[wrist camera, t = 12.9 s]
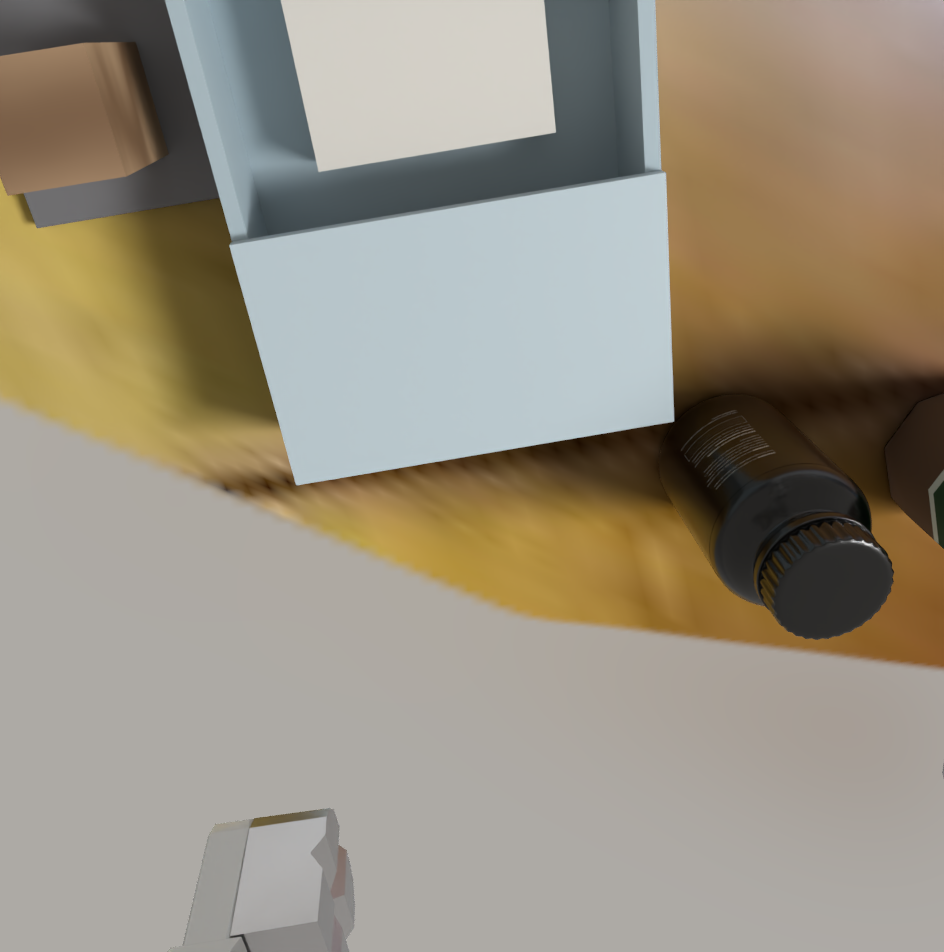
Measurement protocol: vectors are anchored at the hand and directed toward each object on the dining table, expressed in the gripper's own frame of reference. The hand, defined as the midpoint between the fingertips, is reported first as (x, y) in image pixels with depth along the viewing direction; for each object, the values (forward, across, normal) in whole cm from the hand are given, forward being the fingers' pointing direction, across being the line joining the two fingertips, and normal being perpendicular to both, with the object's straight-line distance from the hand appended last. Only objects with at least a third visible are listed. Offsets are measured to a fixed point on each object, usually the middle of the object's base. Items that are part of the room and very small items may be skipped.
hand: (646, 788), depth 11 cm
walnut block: (+29, +13, -8) cm, 33 cm away
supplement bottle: (+30, -12, +11) cm, 34 cm away
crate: (+29, +1, -4) cm, 29 cm away
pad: (+29, +13, -8) cm, 33 cm away
